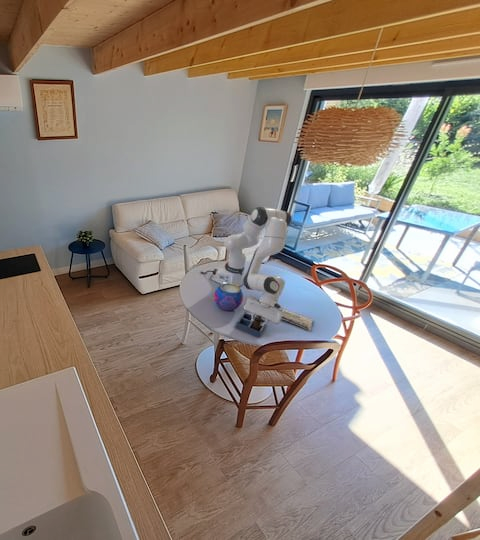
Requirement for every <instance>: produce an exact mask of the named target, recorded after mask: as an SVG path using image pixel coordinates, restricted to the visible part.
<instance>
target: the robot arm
mask: <svg viewBox="0 0 480 540" xmlns="http://www.w3.org/2000/svg"><path fill="white" fill-rule="evenodd" d="M291 223H292V214H291V213H290V212H289V211H286V210H281V209H278V208H272V207H268V206H267V207H266V206H257V207H255V208H254V209H253V210H252V211H251V214H250V216H249V217H248V218H247V220H246V221H245V222H244V223H243V225H242V232H240V233H234V234H231V235H228V236H226V237H225V238H224V241H223V246H224V248H225V249H226V250H227V251H228V253H229V257H228V260H227V261H226V263H225V264H224V266H223V267H220V268H214V269H213V270H206V271H205V272H204V271H200V273H201V274H204V275H205V274H207V273H212V275H211V278H210V279H211V280H212V281H214V282H216V283H218V284H219V285H221V284H224V283H231V284H234V285H236V286H238V287H239V288H240V287H241V286H243V285H244V287H245V289H247V290H250V291H257V292H263V293H262V294H261V296H260V297H259V298H256V297H253V296H249V297H248V298H247V300H246V302H245V304H244V306H243V310H244V312H246V313H248V314H251V316H252V319H251V322H254V319H253V316H257V315H260V316H261V317H262V319H264V320H265V322H263V323H262V322H261V324H260V326H262V327H263V326H264V324H266V325H267V323H268V322H271V323H273V324H275V325H280V324H281V321H282V320H283V319H282V312H283V309H284V307H283V306H282V305H281V304H279V303H278V301H279V299H280V296H281V295H282V294H283V291H284V289H285V285H286V281H285V279H284V278H282V277H281V276H280V275H279V276H278V275H272V276H271V275H267V274H260V273H259V271H260V269H261V267H262V266H261V265H262V263H263V261H264V260H265V259H266V258H269V257H270V256H274V255H276V254H279V253H281V252H282V251H283V249H284V247H285V245H286V241H287V234H288V227H289V226H290V224H291ZM264 228H265V231H264V235H263V239H262V241H261V243H260V245H259V246H257V245H258V244H259V241H260V237H259V234H260V233H261V232H262V231H263V230H264ZM255 246H257V248H256V249H255V251H254V253H253V255H252V258H251V261H250V263H249V266H248V268H247V271H246V273H245V275H244V272H245V267H246V266H245V265H246V260H247V256H246V255H245V253H244V252H243V251H244V249H249V248H253V247H255ZM243 275H244V276H243Z"/></svg>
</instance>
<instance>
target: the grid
mask: <svg viewBox="0 0 480 540" xmlns="http://www.w3.org/2000/svg"><path fill="white" fill-rule="evenodd" d="M251 314H252V313H249V312H247V311H244V312H243V314H242V315H241V316H240V318H239V319H238V320H237V322H236V324H235V325H236V326H235V329H237V330H240V331H243V332H244V333H248V334H250V335H252V336H254V337H258V338H260V336H262V335H261V334H263V331H264V330H265V328H266V326H267V323H266V324H264V326H263V327H262V326H260V329H259V331H257V330H255V329H252V325H253V322H251V319H252V316H251ZM254 318H256V315H255V316H253V319H254ZM261 320H262V323H263V322H265V319H263V318H262V319H261Z"/></svg>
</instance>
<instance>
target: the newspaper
mask: <svg viewBox="0 0 480 540" xmlns="http://www.w3.org/2000/svg"><path fill="white" fill-rule="evenodd" d="M281 320H282V321H283V320H284V321H286V322H288V323H291V324H293V325H296V326H298V327H301V328H302V329H305V330H307V331H311V329H312V326H313V321H314V319H312V318H310V317H307V316H304V315H301V314H299V313H295V312H294V311H290V310H287V309H284V308H283V312H282V319H281Z"/></svg>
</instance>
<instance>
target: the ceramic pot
mask: <svg viewBox="0 0 480 540" xmlns="http://www.w3.org/2000/svg"><path fill="white" fill-rule="evenodd" d="M213 297H214V298H213V299H214V302H215V304H216V306H217V307H219V308H220V309H222V310H225V311H234V310H236V309H238V308H239V307H240V306H241V305H242V303H243V301H244V294H243V291H242V289H241V288H240V286H239V287H238V286H236V285H234V284H231V283H224V284H219V285H218V286H217V287H216V289H215V291H214V292H213Z"/></svg>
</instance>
